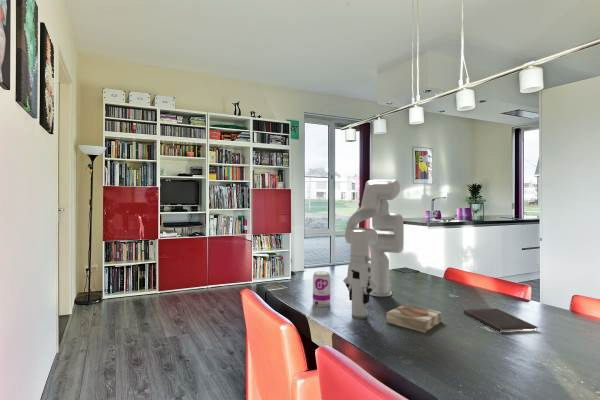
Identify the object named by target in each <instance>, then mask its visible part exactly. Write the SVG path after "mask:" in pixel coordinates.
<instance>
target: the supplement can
mask: <svg viewBox="0 0 600 400" xmlns="http://www.w3.org/2000/svg"><path fill="white" fill-rule="evenodd" d="M312 304H313V305H314V306H315V307H319V308H325V307H326V308H327V307H329V306H330V305H331V275H330V272H328V271H315V272H314V273H313V275H312Z"/></svg>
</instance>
